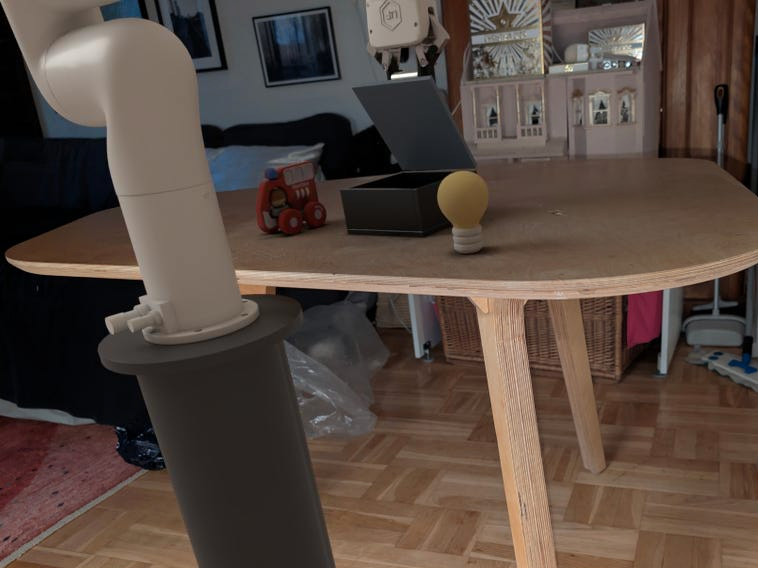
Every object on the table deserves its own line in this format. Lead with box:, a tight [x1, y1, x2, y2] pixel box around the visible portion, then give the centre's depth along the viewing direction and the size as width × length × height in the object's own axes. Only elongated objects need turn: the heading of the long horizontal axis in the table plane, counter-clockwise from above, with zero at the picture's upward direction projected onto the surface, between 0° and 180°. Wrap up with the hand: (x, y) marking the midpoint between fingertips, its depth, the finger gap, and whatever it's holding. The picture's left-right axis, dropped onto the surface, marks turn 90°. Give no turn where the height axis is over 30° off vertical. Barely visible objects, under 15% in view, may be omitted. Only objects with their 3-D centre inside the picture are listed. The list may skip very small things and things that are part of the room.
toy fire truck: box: [255, 160, 328, 235], centre depth 114 cm, size 7×12×10 cm, turn 144°
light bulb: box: [437, 171, 490, 254], centre depth 88 cm, size 6×6×10 cm
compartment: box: [339, 169, 478, 238], centre depth 108 cm, size 16×15×7 cm
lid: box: [350, 69, 478, 171], centre depth 108 cm, size 16×15×5 cm
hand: (413, 95), depth 105 cm, fingers closed on lid, 5 cm apart
